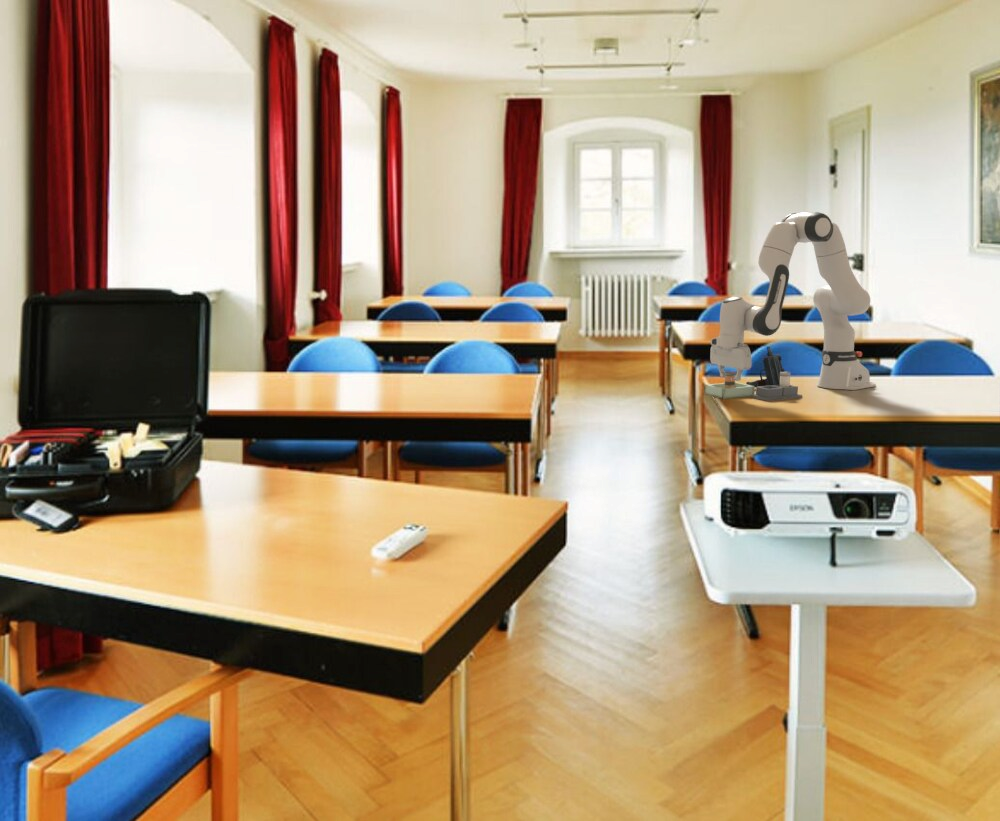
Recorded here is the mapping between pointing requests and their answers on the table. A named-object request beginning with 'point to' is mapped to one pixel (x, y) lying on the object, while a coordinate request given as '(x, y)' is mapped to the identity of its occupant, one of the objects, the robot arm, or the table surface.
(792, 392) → the block
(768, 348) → the gun
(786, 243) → the robot arm
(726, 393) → the tray
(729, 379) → the fuse
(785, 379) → the ball
